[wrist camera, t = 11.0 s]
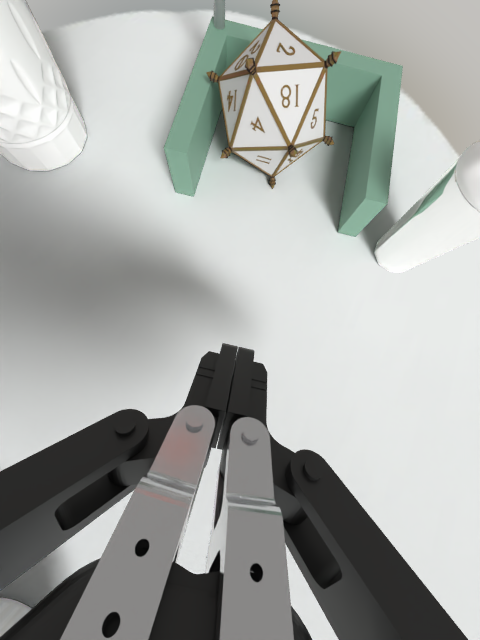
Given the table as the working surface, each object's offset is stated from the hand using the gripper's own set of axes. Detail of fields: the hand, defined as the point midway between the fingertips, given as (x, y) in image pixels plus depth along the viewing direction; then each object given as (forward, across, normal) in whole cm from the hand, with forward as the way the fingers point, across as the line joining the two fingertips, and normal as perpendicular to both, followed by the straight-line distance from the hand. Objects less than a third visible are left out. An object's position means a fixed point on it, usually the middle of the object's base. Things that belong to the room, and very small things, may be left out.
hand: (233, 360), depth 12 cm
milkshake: (+12, -11, -4) cm, 17 cm away
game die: (+17, +1, -8) cm, 19 cm away
